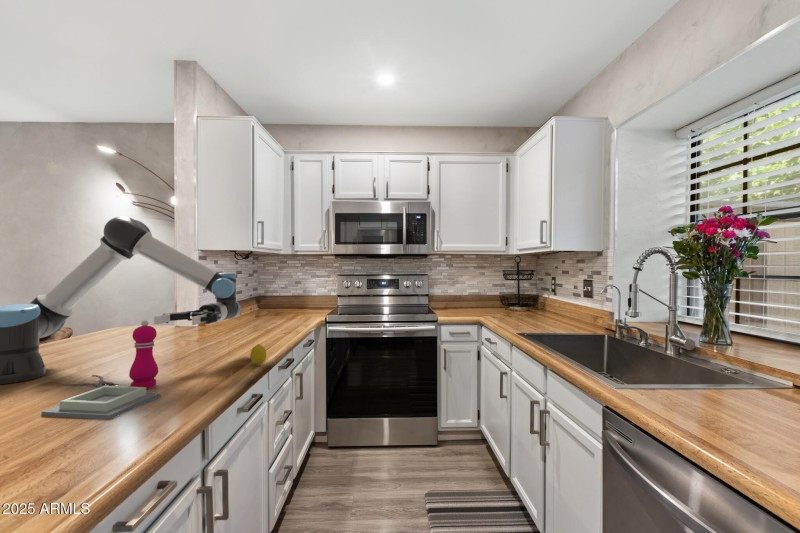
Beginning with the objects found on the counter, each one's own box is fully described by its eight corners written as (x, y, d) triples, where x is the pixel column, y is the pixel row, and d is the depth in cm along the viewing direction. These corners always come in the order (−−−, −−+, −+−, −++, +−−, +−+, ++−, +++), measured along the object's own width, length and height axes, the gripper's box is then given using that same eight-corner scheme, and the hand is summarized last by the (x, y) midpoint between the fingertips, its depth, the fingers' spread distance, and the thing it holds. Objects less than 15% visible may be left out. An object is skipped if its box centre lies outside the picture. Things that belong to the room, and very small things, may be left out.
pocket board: (41, 415, 89) (41, 403, 89) (101, 393, 104) (101, 383, 104) (109, 419, 87) (110, 406, 87) (160, 396, 103) (160, 385, 103)
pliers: (89, 374, 122) (138, 378, 118) (89, 376, 122) (138, 381, 118) (56, 382, 113) (108, 387, 109) (56, 385, 113) (108, 390, 109)
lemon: (262, 367, 134) (263, 345, 134) (247, 367, 134) (248, 345, 134) (268, 364, 139) (268, 342, 139) (254, 363, 139) (254, 342, 139)
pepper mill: (163, 383, 114) (164, 319, 114) (145, 391, 107) (146, 322, 107) (142, 383, 115) (143, 318, 115) (122, 390, 108) (123, 322, 108)
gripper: (242, 323, 143) (209, 332, 122) (182, 322, 145) (139, 331, 124) (242, 303, 143) (209, 309, 122) (182, 303, 145) (139, 309, 124)
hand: (173, 320), depth 123 cm, fingers open, 13 cm apart
